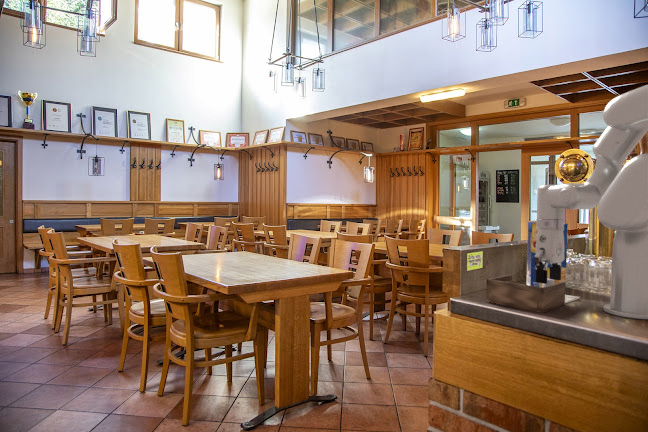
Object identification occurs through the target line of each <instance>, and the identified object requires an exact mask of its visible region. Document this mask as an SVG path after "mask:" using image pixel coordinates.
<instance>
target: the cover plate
mask: <svg viewBox="0 0 648 432" xmlns="http://www.w3.org/2000/svg"><path fill="white" fill-rule="evenodd" d="M550 285H554V280H553V279H547V283H546V284H543V283H542V287H546V286H550ZM580 299H581V296H578V295H577V296H576V295H568V294H565V305H566V304H568V303H571V302H574V301H577V300H580Z"/></svg>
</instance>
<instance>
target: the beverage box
mask: <svg viewBox="0 0 648 432" xmlns="http://www.w3.org/2000/svg"><path fill="white" fill-rule="evenodd" d="M536 227H537V221H527V251H526V254H527V255H526V283H525V285H529V286H536V287H542V283H537V282H536V269H535V266H536V265H535V258H534V256H535V255H536V242H537V234H538V230H536ZM563 234H564V261H563V262H561V264H562V267H561V280H554V284H558V283H562V282H566V281H567V278H566V277H567V252H568V223H565V222H564V231H563ZM543 265H544V263H543ZM550 266H551V263H550V262H549V263H548V266H547V268H546V270H548V272H547V279H550ZM552 267H553V266H552ZM566 283H567V282H566ZM566 286H567V285H566V284H565V287H566Z"/></svg>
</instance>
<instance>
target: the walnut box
mask: <svg viewBox="0 0 648 432" xmlns="http://www.w3.org/2000/svg"><path fill="white" fill-rule="evenodd" d="M566 283H567V282H562V283H558V284H554V285H550V286H546V287H536V286H529V285H527V284H522V283H516V280H515V279H513V274H507V275H503V276H497V277H491V278H488V279H487V278H486V287H485V288H486V291H485V292H486V293H485V294H486V296H485V302H486V303H489V302H491V303H490V304H494V303H496V304H495V305H499V304H500V306H506V307H510V308H516V309H521V310H524V311H525V310H527V311H531V312H537V313H546V312H549V311H552V310H556V309H558V308H561V307H564V306H565V305H566V304H565V295H566V286H565V284H566Z"/></svg>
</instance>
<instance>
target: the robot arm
mask: <svg viewBox="0 0 648 432" xmlns="http://www.w3.org/2000/svg"><path fill="white" fill-rule="evenodd" d="M602 119H603V121H604V123H605V124H606V125H607V127H606V128H605V129H604V131H603V132H602V133H601V135H600V136H599V137H598V139H597V140H596V141H595V143H594V144H593V146H592V152H593V154H594V156H595V160H596V161H595V167H594V169H593V171H592V173H591V174H590V175H591V176H590V175H589V177H588V178H587V179H586V181H585V182H583V183H582V182H581V183H573V182H570V183H569V182H568V183H563V184H542V185H540V186H538V188H537V200H536V201H537V202H536V203H537V205H536V222H537V227H536V230H538V234H537V242H536V255H535V256H534V258H535V265H536V266H535V269H536V282H537V283H543V284H546V283H547V272H548V270H546V268H547V266H548V263H549V262H550V263H551V266H550V279H553V280H561V267H562V264H561V262H563V261H564V234H563V231H564V223H565V214H566V213H565V211H566V210H591V209H593V208H596V207H597V208H596V215H597V219H598V221H599V223H601V225H603V226H604V227H605V228H607V229H610V230H615V233H614V237H613V241H612V255H611V275H610V276H611V279H610V281H611V282H610V303H607V304H605V305H603V307H602V309H603V311H604V312H606V313H608V314H610V315H614V316H617V317H623V318H629V319H637V320H648V153H642V154H641V153H640V154H638V155H636V156H634V157H632V158H631V159H629V160H628V161H627V162H626V163H625V164H624V162H625V161H626V159H627V158H628V156H629V155H630V154H631V153H632V152H633V150H634V149H635V147H636V146H637V145H638V144H639V143H640V141H641V140H642V139H643V138H644V136H645V135H646V133H648V84H646V85H642V86H639V87H637V88H635V89H631V90H629V91H627V92H625V93H622V94H620V95H617V96H615V97H614V98H612V99H611V100H610V101H609V102H608V103H607V104H606V105H605V107H604V109H603V113H602ZM573 186H575V187H573ZM543 263H544V265H543ZM552 266H553V267H552Z"/></svg>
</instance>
